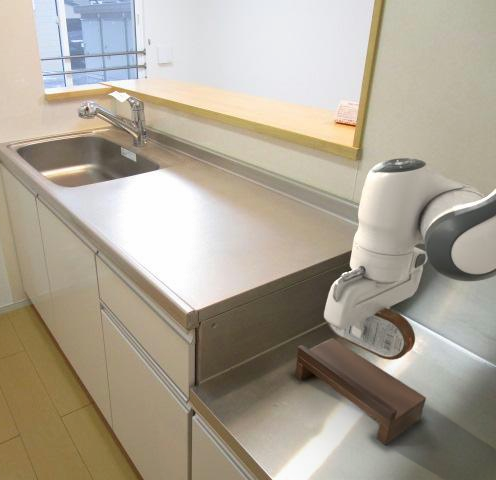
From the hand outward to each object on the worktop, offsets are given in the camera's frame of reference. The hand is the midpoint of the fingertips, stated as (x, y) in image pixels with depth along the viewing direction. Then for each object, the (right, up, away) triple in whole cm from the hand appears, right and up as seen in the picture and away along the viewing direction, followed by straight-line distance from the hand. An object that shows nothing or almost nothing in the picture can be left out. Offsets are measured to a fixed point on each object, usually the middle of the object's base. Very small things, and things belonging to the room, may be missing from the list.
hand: (366, 330), depth 78 cm
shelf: (0, -13, +6) cm, 15 cm away
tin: (0, -3, +1) cm, 3 cm away
